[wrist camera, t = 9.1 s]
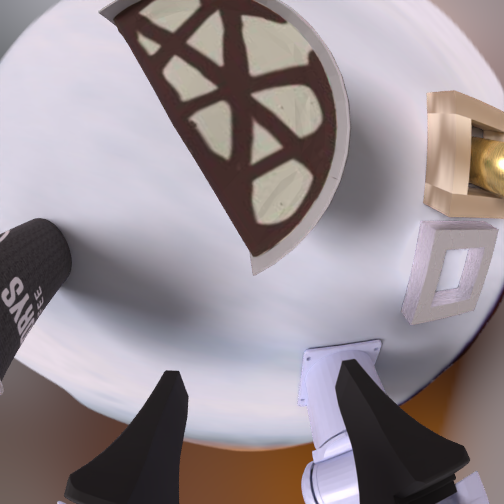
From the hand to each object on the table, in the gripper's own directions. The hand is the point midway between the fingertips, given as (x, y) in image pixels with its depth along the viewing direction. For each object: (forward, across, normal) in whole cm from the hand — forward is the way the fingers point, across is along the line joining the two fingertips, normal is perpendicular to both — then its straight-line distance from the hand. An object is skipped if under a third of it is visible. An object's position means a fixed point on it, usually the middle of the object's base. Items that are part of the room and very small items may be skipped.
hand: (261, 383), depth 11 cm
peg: (+10, -18, -9) cm, 23 cm away
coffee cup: (+11, +19, -2) cm, 22 cm away
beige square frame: (+10, -18, -10) cm, 23 cm away
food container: (+11, 0, -12) cm, 16 cm away
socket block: (+10, -18, +1) cm, 21 cm away
